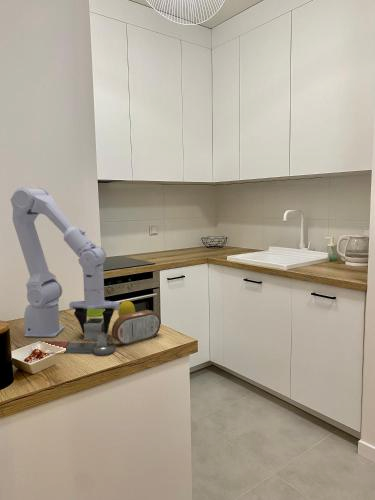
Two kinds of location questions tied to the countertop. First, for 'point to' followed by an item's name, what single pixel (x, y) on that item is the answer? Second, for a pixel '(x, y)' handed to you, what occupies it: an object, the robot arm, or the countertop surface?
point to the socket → (93, 328)
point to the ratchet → (88, 346)
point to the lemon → (126, 308)
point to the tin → (136, 327)
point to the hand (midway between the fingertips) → (95, 332)
